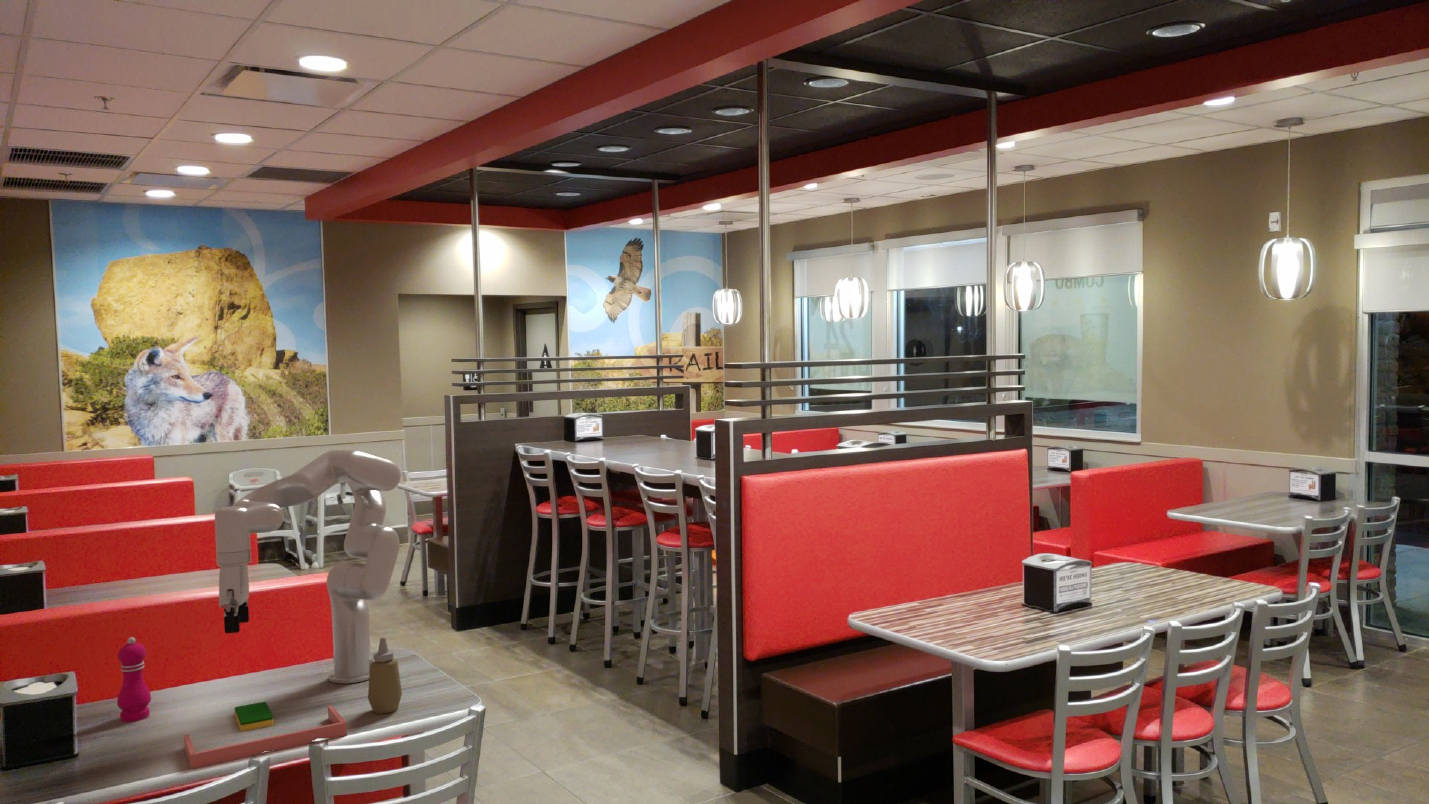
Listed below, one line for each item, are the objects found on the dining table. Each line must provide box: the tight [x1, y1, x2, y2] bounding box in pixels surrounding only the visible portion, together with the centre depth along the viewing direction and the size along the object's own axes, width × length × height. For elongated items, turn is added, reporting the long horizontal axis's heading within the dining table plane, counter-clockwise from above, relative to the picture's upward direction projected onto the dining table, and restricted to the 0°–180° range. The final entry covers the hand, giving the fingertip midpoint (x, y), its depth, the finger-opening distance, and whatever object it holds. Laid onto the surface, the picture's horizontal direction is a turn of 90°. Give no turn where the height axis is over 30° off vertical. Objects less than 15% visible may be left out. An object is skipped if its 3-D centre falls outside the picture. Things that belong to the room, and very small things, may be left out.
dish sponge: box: [234, 701, 275, 732], centre depth 243 cm, size 7×14×2 cm, turn 31°
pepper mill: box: [116, 636, 152, 723], centre depth 246 cm, size 7×7×20 cm
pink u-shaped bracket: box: [183, 705, 348, 770], centre depth 228 cm, size 32×14×3 cm, turn 123°
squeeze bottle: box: [367, 637, 403, 714], centre depth 247 cm, size 8×8×18 cm
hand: (237, 627), depth 244 cm, fingers open, 9 cm apart
